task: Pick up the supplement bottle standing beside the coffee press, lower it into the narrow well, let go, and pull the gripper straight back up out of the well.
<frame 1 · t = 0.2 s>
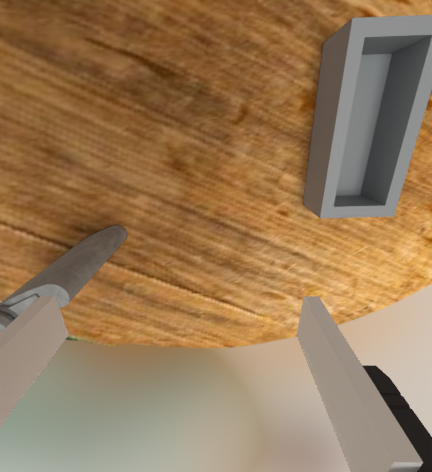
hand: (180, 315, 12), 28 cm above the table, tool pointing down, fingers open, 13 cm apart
hip flask: (90, 247, 42), on the table
well: (346, 133, 34), on the table
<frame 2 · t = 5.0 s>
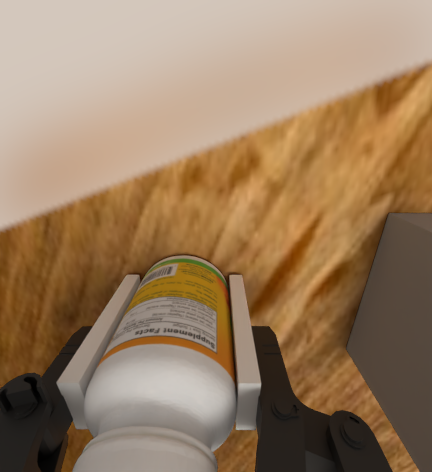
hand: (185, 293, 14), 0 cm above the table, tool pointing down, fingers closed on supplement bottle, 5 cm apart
supplement bottle: (186, 288, 15), on the table, touching gripper
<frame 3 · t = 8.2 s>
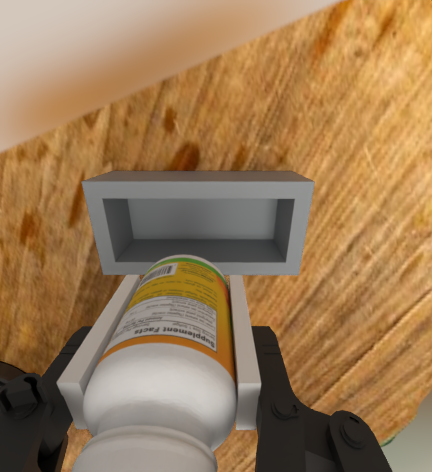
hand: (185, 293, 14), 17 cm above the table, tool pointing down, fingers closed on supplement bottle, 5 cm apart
well: (203, 211, 30), on the table
supplement bottle: (186, 287, 15), point 16 cm above the table, touching gripper
when the fingers open (3 cm above the table, at t = 11.4 s): supplement bottle drops 2 cm, resting on well.
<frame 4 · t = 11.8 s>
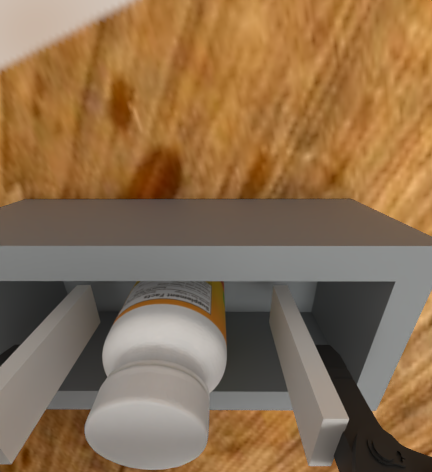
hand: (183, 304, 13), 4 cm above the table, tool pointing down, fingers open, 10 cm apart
well: (191, 265, 17), on the table
supplement bottle: (185, 271, 16), point 1 cm above the table, touching well
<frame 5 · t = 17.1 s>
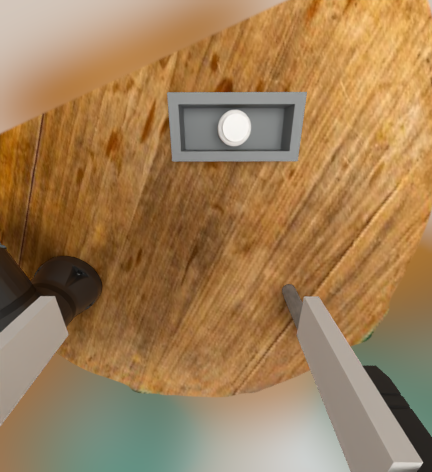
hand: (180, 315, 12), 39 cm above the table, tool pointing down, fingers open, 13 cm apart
hip flask: (295, 306, 61), on the table
well: (233, 129, 44), on the table
supplement bottle: (231, 129, 43), point 1 cm above the table, touching well
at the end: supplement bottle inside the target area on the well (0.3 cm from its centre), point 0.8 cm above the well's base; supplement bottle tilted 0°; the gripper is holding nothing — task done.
